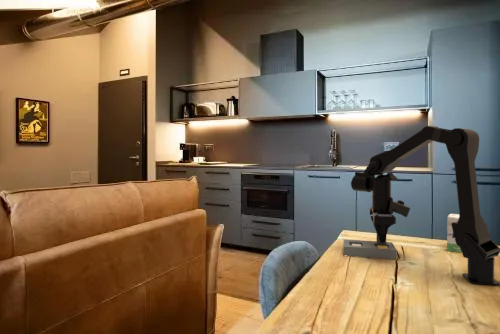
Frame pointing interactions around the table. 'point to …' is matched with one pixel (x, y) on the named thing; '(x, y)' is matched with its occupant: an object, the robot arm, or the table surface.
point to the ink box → (451, 241)
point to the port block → (369, 249)
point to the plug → (380, 242)
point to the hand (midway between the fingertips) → (381, 240)
